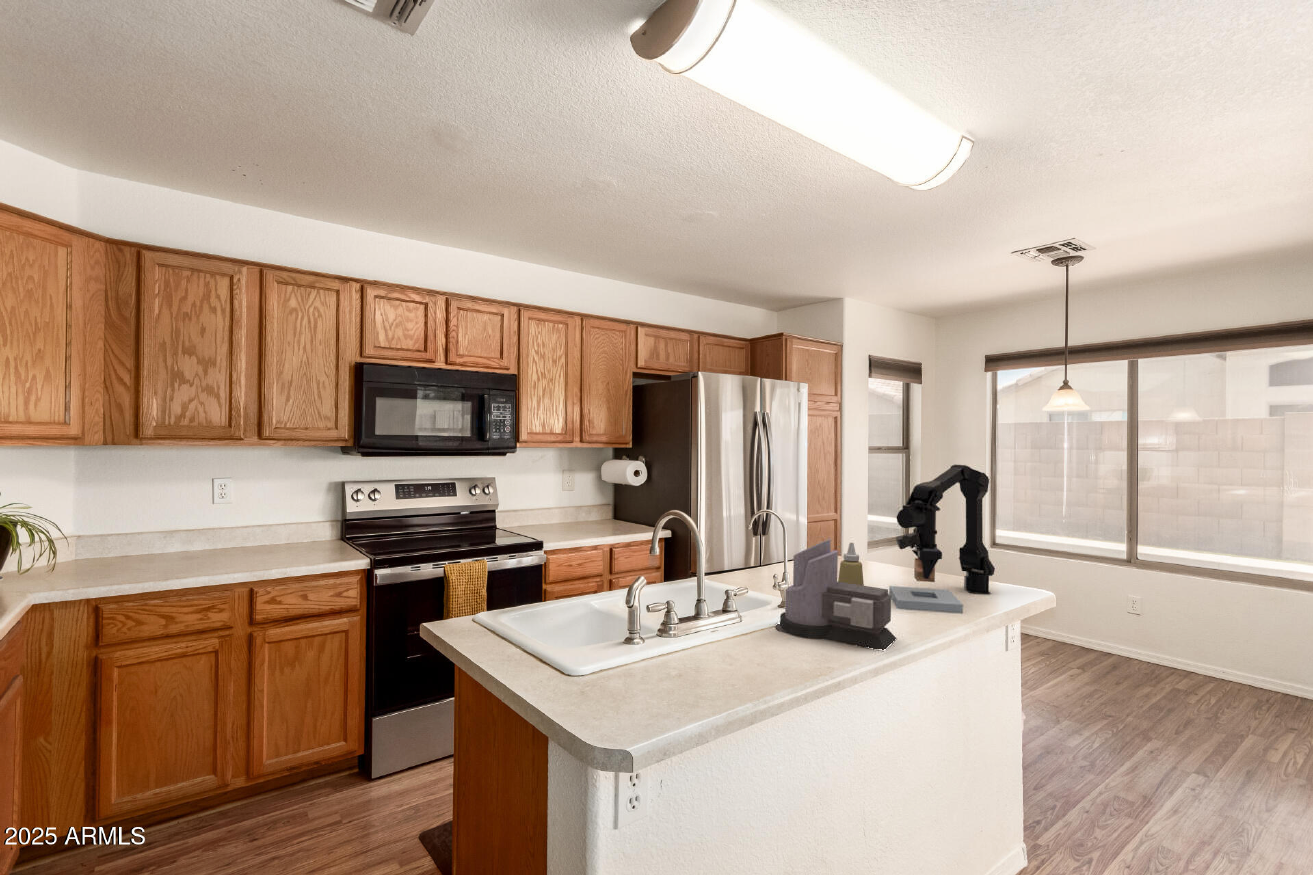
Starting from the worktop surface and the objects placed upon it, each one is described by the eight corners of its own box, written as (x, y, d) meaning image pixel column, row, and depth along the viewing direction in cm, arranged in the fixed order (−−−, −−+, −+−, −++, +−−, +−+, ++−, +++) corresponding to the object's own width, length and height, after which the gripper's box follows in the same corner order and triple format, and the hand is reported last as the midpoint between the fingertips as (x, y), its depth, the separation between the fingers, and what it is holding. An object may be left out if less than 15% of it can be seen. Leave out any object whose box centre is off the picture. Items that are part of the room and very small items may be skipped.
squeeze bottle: (846, 595, 204) (847, 539, 203) (869, 601, 197) (870, 543, 197) (831, 600, 199) (832, 542, 198) (854, 605, 192) (855, 546, 192)
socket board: (948, 597, 204) (949, 589, 204) (962, 613, 186) (962, 604, 186) (889, 593, 208) (889, 585, 208) (897, 608, 190) (897, 600, 190)
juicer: (765, 630, 168) (767, 537, 168) (789, 615, 181) (790, 529, 181) (882, 654, 151) (884, 551, 151) (899, 636, 164) (901, 541, 164)
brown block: (931, 578, 199) (931, 559, 199) (934, 582, 194) (935, 562, 194) (914, 577, 200) (914, 558, 200) (917, 581, 195) (917, 561, 195)
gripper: (893, 520, 208) (892, 568, 208) (902, 529, 189) (901, 581, 190) (930, 522, 205) (929, 570, 205) (942, 531, 187) (941, 584, 187)
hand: (924, 576), depth 197 cm, fingers closed on brown block, 5 cm apart
